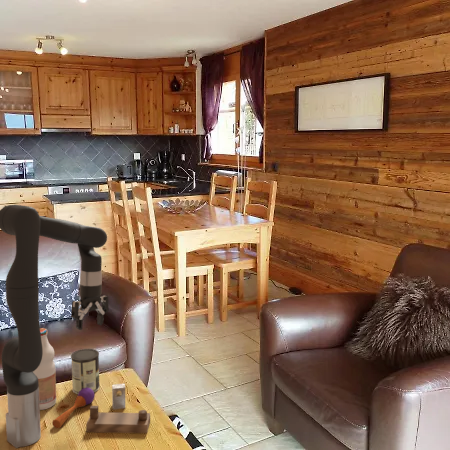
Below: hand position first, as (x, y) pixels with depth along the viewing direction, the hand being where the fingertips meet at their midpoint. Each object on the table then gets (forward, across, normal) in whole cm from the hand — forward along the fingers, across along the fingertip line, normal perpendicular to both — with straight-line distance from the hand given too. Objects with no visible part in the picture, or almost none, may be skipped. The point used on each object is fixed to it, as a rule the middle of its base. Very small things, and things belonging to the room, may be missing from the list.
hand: (89, 326), depth 178 cm
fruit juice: (+29, -11, +12) cm, 33 cm away
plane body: (+29, -2, -20) cm, 36 cm away
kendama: (+30, -7, -2) cm, 30 cm away
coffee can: (+28, +6, +10) cm, 30 cm away
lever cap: (+28, +6, -10) cm, 31 cm away
